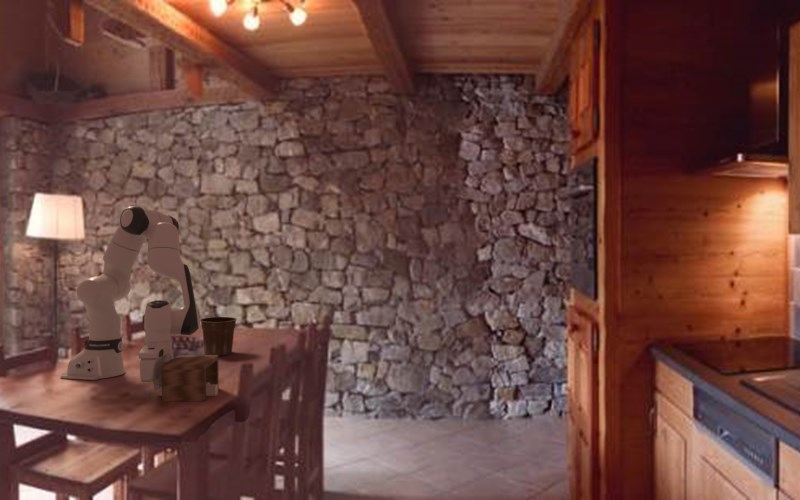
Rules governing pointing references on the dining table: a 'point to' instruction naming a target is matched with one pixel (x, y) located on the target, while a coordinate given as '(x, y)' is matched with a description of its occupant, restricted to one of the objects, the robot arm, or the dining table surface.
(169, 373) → the wooden crate box
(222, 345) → the plant pot
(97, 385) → the dining table surface
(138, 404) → the dining table surface
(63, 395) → the dining table surface
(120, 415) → the dining table surface
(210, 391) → the tray
